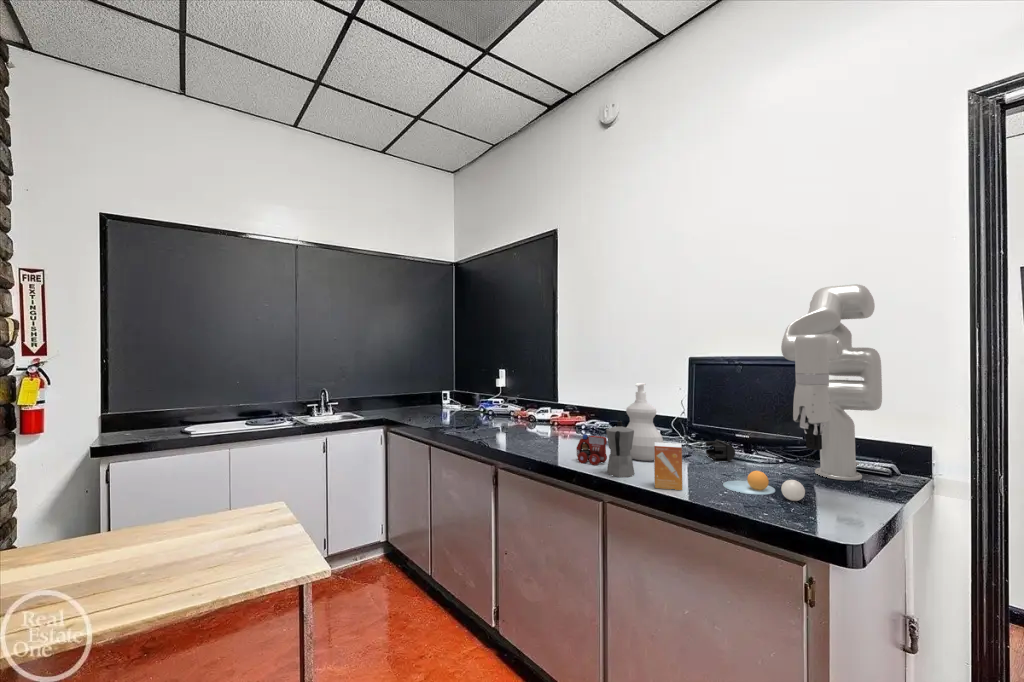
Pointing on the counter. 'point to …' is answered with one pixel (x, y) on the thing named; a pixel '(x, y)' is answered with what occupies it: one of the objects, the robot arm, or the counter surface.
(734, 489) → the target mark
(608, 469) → the coffeepot
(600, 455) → the toy fire truck
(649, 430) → the soap bottle
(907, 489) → the counter surface
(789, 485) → the white egg
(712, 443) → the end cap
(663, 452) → the small box
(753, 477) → the object ball
